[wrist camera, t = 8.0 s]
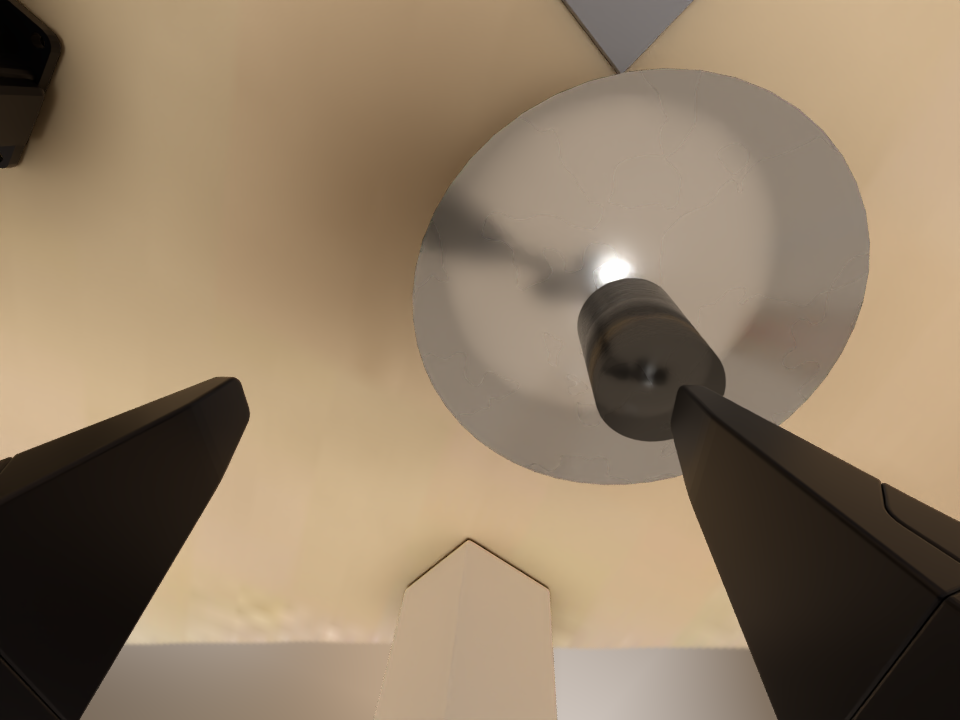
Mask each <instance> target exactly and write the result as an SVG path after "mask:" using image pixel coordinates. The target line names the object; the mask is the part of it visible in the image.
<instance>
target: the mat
mask: <svg viewBox="0 0 960 720" xmlns="http://www.w3.org/2000/svg"><path fill="white" fill-rule="evenodd" d="M562 1H563V3H564V4H565V5H566V6H567V8H568V9H569V10H570V12H571V13H572V14H573V16H574V17H575V18H576V20H577V21H578V22H579V23H580V25H581V26H582V27H583V29H584V30H585V31H586V33H587V34H588V35H589V37H590V38H591V39H592V40H593V42H594V43H595V44H596V46H597V47H598V48H599V50H600V51H601V52H602V54H603V55H604V56H605V58H606V59H607V60H608V61H609V63H610V64H611V65H612V67H613V68H614V69H615V71H616V72H617V73H618V74H620V73H624V72H625V71H626V70H627V69H628V68H629V66H630V65H631V64H632V63H633V62H634V61H635V60H636V59H637V58H638V57H639V56H640V55H641V54H642V53H643V52H644V51H645V50H646V49H647V48H648V47H649V46H650V45H651V44H652V43H653V42H654V41H655V40H656V39H657V38H658V36H659V35H660V34H661V33H662V32H663V31H664V30H665V29H666V28H667V27H668V26H669V25H670V24H671V23H672V22H673V21H674V20H675V19H676V18H677V17H678V16H679V15H680V14H681V13H682V12H683V11H684V10H685V9H686V8H687V6H688V5H689V4H690V3H691V2H692V1H693V0H562Z"/></svg>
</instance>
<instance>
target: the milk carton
mask: <svg viewBox="0 0 960 720" xmlns="http://www.w3.org/2000/svg"><path fill="white" fill-rule="evenodd" d="M374 720H557V709H556V694H555V676H554V658H553V640H552V623H551V606H550V592H549V590H548V589H547V588H545V587H544V586H542V585H541V584H539V583H538V582H536V581H534V580H533V579H531V578H530V577H528V576H526V575H525V574H523V573H522V572H520V571H518V570H517V569H515V568H514V567H512V566H511V565H509V564H507V563H506V562H504V561H503V560H501V559H499V558H498V557H496V556H495V555H493V554H491V553H490V552H488V551H487V550H485V549H483V548H482V547H480V546H479V545H477V544H475V543H474V542H472V541H470V540H468V541H466V542H465V543H464V544H462V545H461V546H460V547H459V548H457V549H456V550H455V551H453V552H452V553H451V554H450V555H448V556H447V557H446V558H445V559H443V560H442V561H441V562H440V563H438V564H437V565H436V566H435V567H433V568H432V569H431V570H429V571H428V572H427V573H426V574H424V575H423V576H422V577H421V578H419V579H418V580H417V581H416V582H414V583H413V584H412V585H411V586H409V587H408V588H407V589H406V590H405V593H404V597H403V601H402V605H401V610H400V614H399V618H398V622H397V626H396V630H395V634H394V638H393V642H392V646H391V651H390V655H389V659H388V663H387V667H386V671H385V675H384V679H383V684H382V687H381V692H380V695H379V700H378V704H377V708H376V712H375V716H374Z"/></svg>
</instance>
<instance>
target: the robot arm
mask: <svg viewBox="0 0 960 720" xmlns="http://www.w3.org/2000/svg"><path fill="white" fill-rule="evenodd" d="M41 37H42V38H43V40H44V43H45V46H43V45H42V43H41V41H40V40H41ZM60 51H61V46H60V42H59V40H58V38H57V36H56V35H55V34H54V33H53V32H52V31H51V30H50V29H49V28H48V27H47V26H46V25H44V24H43V23H42V22H41V21H40V20H39V19H37V18H36V17H35V16H34V15H33V14H32V13H31V12H29V11H28V10H27V9H26V8H25V7H24V6H22V5H21V4H20V3H19V2H18V1H17V0H0V153H1V155H2V157H3V158H2V157H1V155H0V168H11V167H15V166H16V165H17V164H18V161H19V159H20V156H21V154H22V151H23V148H24V146H25V144H26V143H27V141H28V139H29V136H30V134H31V131H32V128H33V126H34V123H35V121H36V118H37V116H38V113H39V110H40V108H41V105H42V103H43V100H44V94H45V91H46V89H47V86H48V84H49V81H50V78H51V76H52V73H53V71H54V68H55V66H56V63H57V60H58V58H59V55H60ZM249 417H250V411H249V407H248V403H247V400H246V397H245V394H244V391H243V388H242V385H241V382H240V381H239V380H238V379H237V378H235V377H215V378H212V379H209V380H207V381H204V382H202V383H199V384H196V385H194V386H191V387H189V388H186V389H184V390H181V391H178V392H176V393H173V394H171V395H168V396H166V397H163V398H160V399H158V400H155V401H153V402H150V403H147V404H145V405H142V406H140V407H137V408H135V409H132V410H129V411H127V412H124V413H122V414H119V415H117V416H114V417H111V418H109V419H106V420H104V421H101V422H99V423H96V424H93V425H91V426H88V427H86V428H83V429H80V430H78V431H75V432H73V433H70V434H68V435H65V436H62V437H60V438H57V439H55V440H52V441H50V442H47V443H44V444H42V445H39V446H37V447H34V448H32V449H29V450H26V451H24V452H21V453H19V454H16V455H15V456H14V457H13V458H12V457H8V458H6V459H3V460H0V720H80V718H81V716H82V715H83V713H84V711H85V710H86V708H87V706H88V705H89V703H90V701H91V700H92V698H93V696H94V695H95V693H96V691H97V689H98V688H99V686H100V684H101V683H102V681H103V679H104V678H105V676H106V674H107V673H108V671H109V669H110V668H111V666H112V664H113V663H114V661H115V659H116V657H117V656H118V654H119V652H120V651H121V649H122V647H123V646H124V644H125V642H126V641H127V639H128V637H129V636H130V634H131V632H132V631H133V629H134V627H135V626H136V624H137V622H138V620H139V619H140V617H141V615H142V614H143V612H144V610H145V609H146V607H147V605H148V604H149V602H150V600H151V599H152V597H153V595H154V594H155V592H156V590H157V588H158V587H159V585H160V583H161V582H162V580H163V578H164V577H165V575H166V573H167V572H168V570H169V568H170V567H171V565H172V563H173V562H174V560H175V558H176V556H177V555H178V553H179V551H180V550H181V548H182V546H183V545H184V543H185V541H186V540H187V538H188V536H189V535H190V533H191V531H192V530H193V528H194V526H195V524H196V523H197V521H198V519H199V518H200V516H201V514H202V513H203V511H204V509H205V508H206V506H207V504H208V503H209V501H210V499H211V498H212V496H213V494H214V492H215V491H216V489H217V487H218V485H219V484H220V482H221V480H222V478H223V476H224V474H225V472H226V470H227V467H228V465H229V463H230V461H231V459H232V456H233V454H234V452H235V450H236V448H237V446H238V443H239V441H240V439H241V437H242V435H243V432H244V430H245V428H246V426H247V424H248V421H249ZM671 432H672V436H673V440H674V444H675V448H676V451H677V455H678V459H679V463H680V466H681V470H682V474H683V478H684V482H685V485H686V489H687V492H688V496H689V499H690V501H691V504H692V507H693V509H694V512H695V514H696V517H697V519H698V522H699V524H700V527H701V529H702V532H703V534H704V537H705V539H706V542H707V544H708V547H709V549H710V552H711V554H712V557H713V559H714V562H715V564H716V567H717V569H718V572H719V574H720V577H721V579H722V582H723V584H724V587H725V589H726V592H727V594H728V597H729V599H730V602H731V604H732V607H733V609H734V612H735V614H736V617H737V619H738V622H739V624H740V627H741V629H742V632H743V634H744V637H745V639H746V642H747V644H748V647H749V649H750V652H751V654H752V656H753V659H754V662H755V664H756V667H757V669H758V672H759V674H760V677H761V679H762V682H763V684H764V687H765V689H766V692H767V694H768V697H769V699H770V702H771V704H772V707H773V709H774V712H775V714H776V717H777V719H778V720H960V522H959V521H957V520H955V519H953V518H951V517H949V516H947V515H945V514H943V513H942V512H940V511H938V510H936V509H934V508H932V507H930V506H928V505H926V504H924V503H922V502H920V501H918V500H916V499H915V498H913V497H911V496H909V495H907V494H905V493H903V492H901V491H899V490H898V489H896V488H894V487H892V486H890V485H888V484H886V483H882V484H881V481H880V480H879V479H877V478H875V477H873V476H871V475H869V474H867V473H866V472H864V471H862V470H860V469H858V468H856V467H854V466H852V465H851V464H849V463H847V462H845V461H843V460H841V459H839V458H837V457H836V456H834V455H832V454H830V453H828V452H826V451H824V450H822V449H821V448H819V447H817V446H815V445H813V444H811V443H809V442H808V441H806V440H804V439H802V438H800V437H798V436H796V435H794V434H793V433H791V432H789V431H787V430H785V429H783V428H781V427H779V426H778V425H776V424H774V423H772V422H770V421H768V420H766V419H764V418H763V417H761V416H759V415H757V414H755V413H753V412H751V411H749V410H748V409H746V408H744V407H742V406H740V405H738V404H736V403H735V402H733V401H731V400H729V399H727V398H725V397H723V396H721V395H720V394H718V393H716V392H714V391H712V390H710V389H708V388H706V387H705V386H702V385H682V386H681V387H679V389H678V391H677V395H676V399H675V403H674V408H673V412H672V416H671Z"/></svg>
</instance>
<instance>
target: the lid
mask: <svg viewBox="0 0 960 720" xmlns="http://www.w3.org/2000/svg"><path fill="white" fill-rule="evenodd" d="M869 248H870V241H869V233H868V225H867V217H866V211H865V208H864V205H863V201H862V198H861V195H860V192H859V188H858V185H857V182H856V181H855V179H854V177H853V175H852V173H851V171H850V169H849V167H848V165H847V163H846V161H845V159H844V157H843V155H842V154H841V153H840V152H839V150H838V149H837V148H836V146H835V145H834V144H833V143H832V141H831V140H830V139H829V137H828V136H827V135H826V134H825V132H824V131H823V130H822V129H821V128H820V127H819V126H818V125H816V124H815V123H814V122H813V121H812V120H811V119H810V118H809V117H807V116H806V115H805V114H804V113H803V112H802V111H801V110H800V109H798V108H797V107H795V106H794V105H792V104H790V103H789V102H787V101H785V100H784V99H782V98H780V97H779V96H777V95H776V94H774V93H772V92H771V91H769V90H766V89H764V88H761V87H759V86H756V85H754V84H751V83H749V82H746V81H743V80H741V79H738V78H735V77H731V76H726V75H721V74H716V73H712V72H707V71H702V70H687V69H668V68H662V69H652V70H641V71H631V72H624V73H620V74H616V75H612V76H608V77H604V78H600V79H596V80H592V81H589V82H586V83H584V84H581V85H579V86H576V87H574V88H571V89H569V90H566V91H564V92H561V93H559V94H556V95H554V96H552V97H550V98H549V99H547V100H545V101H543V102H542V103H540V104H538V105H536V106H535V107H533V108H531V109H529V110H528V111H526V112H524V113H522V114H521V115H520V116H518V117H517V118H516V119H514V120H513V121H512V122H511V123H509V124H508V125H507V126H505V127H504V128H503V129H501V130H500V131H499V132H497V133H496V134H495V135H494V136H493V137H492V138H491V139H490V140H489V141H488V142H487V143H486V144H485V145H484V146H483V147H482V148H481V149H480V150H479V151H478V152H477V153H476V154H475V155H474V156H473V157H472V158H471V159H470V160H469V161H468V162H467V164H466V165H465V166H464V168H463V169H462V170H461V171H460V173H459V174H458V175H457V177H456V178H455V179H454V180H453V182H452V183H451V184H450V186H449V188H448V189H447V191H446V193H445V195H444V196H443V198H442V200H441V201H440V203H439V205H438V207H437V208H436V210H435V212H434V214H433V217H432V219H431V221H430V224H429V226H428V229H427V231H426V234H425V236H424V238H423V241H422V245H421V249H420V253H419V257H418V261H417V265H416V270H415V279H414V287H413V321H414V327H415V333H416V339H417V345H418V348H419V351H420V355H421V358H422V361H423V364H424V367H425V369H426V372H427V374H428V376H429V378H430V380H431V382H432V384H433V387H434V388H435V390H436V392H437V393H438V395H439V396H440V398H441V399H442V401H443V403H444V404H445V406H446V407H447V408H448V410H449V411H450V412H451V413H452V414H453V416H454V417H455V418H456V419H457V420H458V421H459V423H460V424H461V425H462V426H463V427H464V428H465V429H467V430H468V431H469V432H470V433H471V434H472V435H473V436H474V437H475V438H476V439H478V440H479V441H480V442H482V443H483V444H484V445H486V446H487V447H489V448H490V449H491V450H493V451H494V452H496V453H497V454H499V455H501V456H503V457H505V458H506V459H508V460H510V461H512V462H513V463H516V464H518V465H520V466H523V467H525V468H527V469H530V470H532V471H534V472H538V473H541V474H544V475H548V476H551V477H554V478H558V479H563V480H568V481H573V482H579V483H590V484H600V485H626V484H636V483H646V482H653V481H658V480H663V479H668V478H673V477H677V476H680V475H683V474H682V470H681V466H680V463H679V459H678V455H677V451H676V448H675V444H674V440H673V436H672V432H671V416H672V412H673V408H674V403H675V399H676V395H677V391H678V389H679V387H681V386H682V385H702V386H705V387H706V388H708V389H710V390H712V391H714V392H716V393H718V394H720V395H721V396H723V397H725V398H727V399H729V400H731V401H733V402H735V403H736V404H738V405H740V406H742V407H744V408H746V409H748V410H749V411H751V412H753V413H755V414H757V415H759V416H761V417H763V418H764V419H766V420H768V421H770V422H772V423H774V424H776V425H778V426H779V425H780V424H781V423H783V422H784V421H785V420H786V419H788V418H789V417H790V416H791V415H792V414H793V413H794V412H795V411H796V410H797V409H798V408H799V407H800V406H801V405H802V404H803V403H804V402H805V401H806V400H807V399H808V398H809V397H810V396H811V395H812V393H813V392H814V391H815V390H816V389H817V387H818V386H819V385H820V384H821V383H822V381H823V380H824V379H825V378H826V376H827V375H828V373H829V372H830V370H831V369H832V367H833V366H834V364H835V363H836V361H837V360H838V358H839V356H840V355H841V353H842V351H843V349H844V347H845V345H846V343H847V341H848V339H849V337H850V335H851V333H852V331H853V329H854V326H855V323H856V321H857V318H858V315H859V312H860V309H861V306H862V303H863V299H864V294H865V289H866V283H867V278H868V273H869Z"/></svg>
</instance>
